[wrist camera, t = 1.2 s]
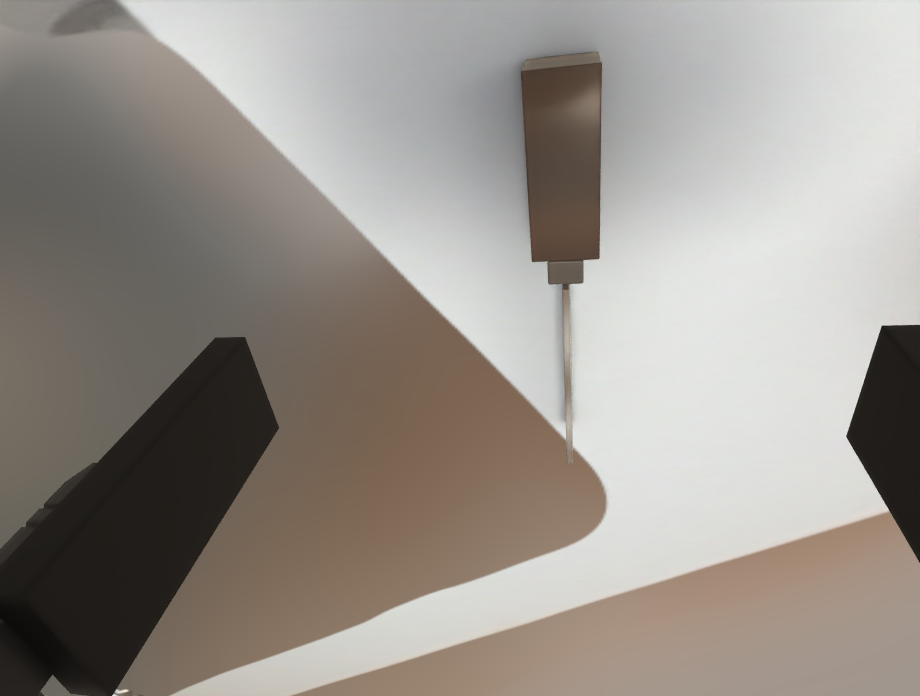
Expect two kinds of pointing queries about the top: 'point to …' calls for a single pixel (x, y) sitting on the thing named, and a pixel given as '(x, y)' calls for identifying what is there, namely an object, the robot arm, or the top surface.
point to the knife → (563, 175)
